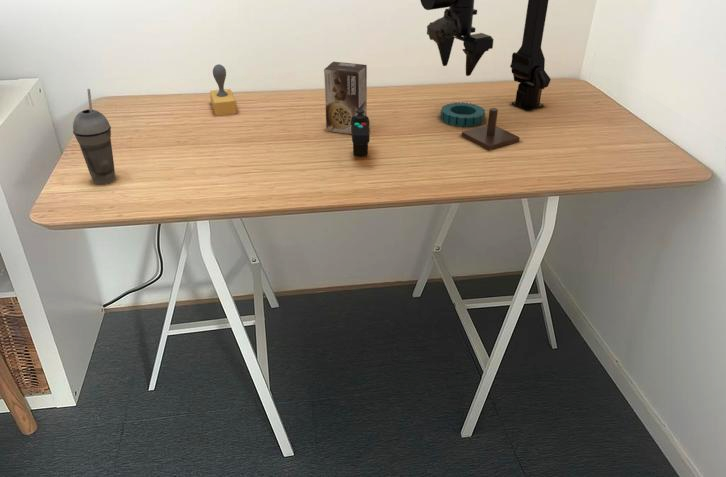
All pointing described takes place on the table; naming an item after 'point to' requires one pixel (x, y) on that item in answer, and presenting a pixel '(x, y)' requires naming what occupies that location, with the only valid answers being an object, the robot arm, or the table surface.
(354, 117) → the controller
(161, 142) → the table surface
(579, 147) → the table surface
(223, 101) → the rubber stamp
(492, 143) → the stand
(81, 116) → the beverage cup
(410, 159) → the table surface
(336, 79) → the coffee box
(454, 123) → the hoop
